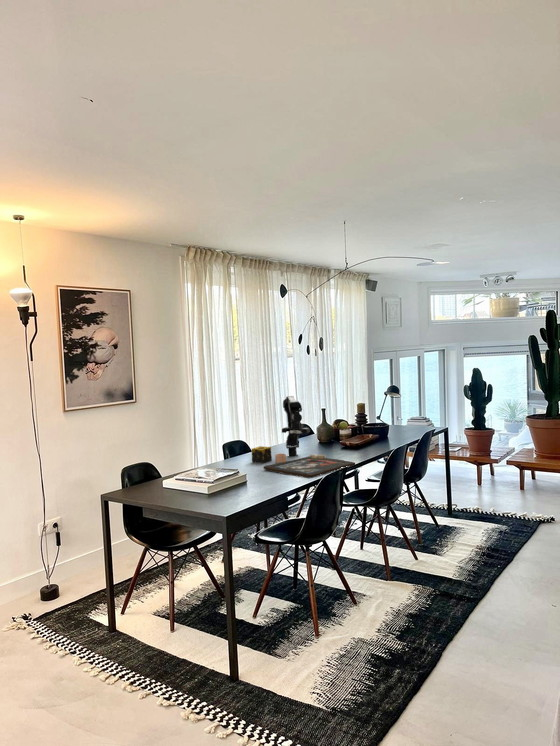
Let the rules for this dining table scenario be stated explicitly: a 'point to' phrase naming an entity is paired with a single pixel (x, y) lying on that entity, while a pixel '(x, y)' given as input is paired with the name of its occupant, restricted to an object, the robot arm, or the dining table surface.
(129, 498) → the dining table surface
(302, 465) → the religious icon
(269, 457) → the candle
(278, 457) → the terracotta cup
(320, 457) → the birch pin
